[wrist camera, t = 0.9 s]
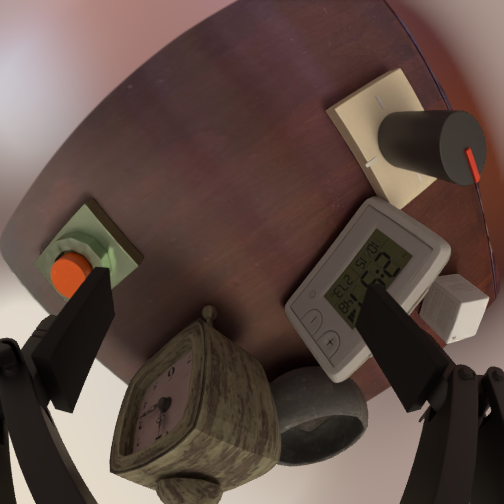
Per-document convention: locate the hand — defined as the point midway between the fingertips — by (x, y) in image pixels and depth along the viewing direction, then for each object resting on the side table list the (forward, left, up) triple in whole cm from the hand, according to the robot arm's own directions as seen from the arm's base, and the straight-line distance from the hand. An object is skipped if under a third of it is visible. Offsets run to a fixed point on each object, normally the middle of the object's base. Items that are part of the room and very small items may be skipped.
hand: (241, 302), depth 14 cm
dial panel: (-10, +15, -15) cm, 24 cm away
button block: (+5, -15, -15) cm, 22 cm away
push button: (+5, -15, -12) cm, 19 cm away
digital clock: (+4, +12, -15) cm, 20 cm away
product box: (+8, +29, -15) cm, 34 cm away
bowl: (+23, +11, -15) cm, 30 cm away
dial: (-10, +15, -13) cm, 22 cm away
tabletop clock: (+16, -3, -15) cm, 22 cm away
